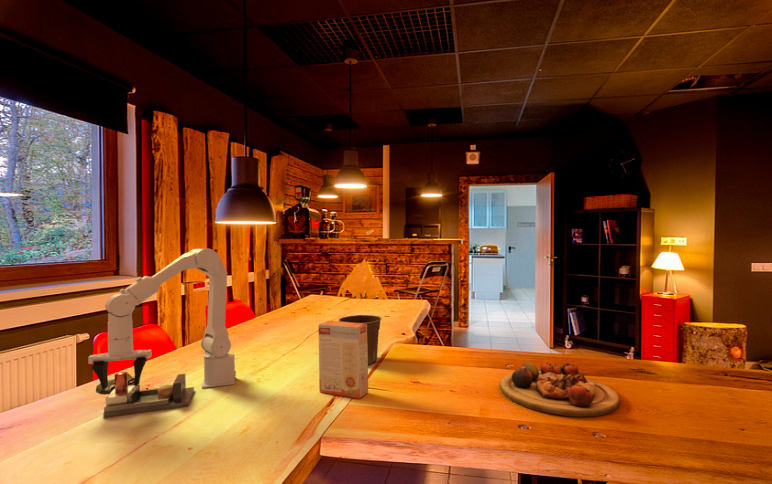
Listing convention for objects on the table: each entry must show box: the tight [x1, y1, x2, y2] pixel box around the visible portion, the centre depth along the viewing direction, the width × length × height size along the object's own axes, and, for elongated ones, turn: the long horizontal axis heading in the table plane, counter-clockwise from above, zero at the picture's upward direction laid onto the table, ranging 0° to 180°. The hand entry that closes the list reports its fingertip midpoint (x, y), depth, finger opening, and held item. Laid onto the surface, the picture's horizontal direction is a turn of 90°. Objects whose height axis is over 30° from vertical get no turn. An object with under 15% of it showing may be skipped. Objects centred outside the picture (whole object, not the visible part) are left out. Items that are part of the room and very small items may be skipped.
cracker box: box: [318, 320, 369, 400], centre depth 117 cm, size 14×6×21 cm, turn 65°
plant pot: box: [338, 314, 382, 365], centre depth 148 cm, size 16×16×16 cm
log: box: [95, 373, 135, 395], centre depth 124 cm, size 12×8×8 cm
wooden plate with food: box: [499, 360, 621, 418], centre depth 114 cm, size 32×32×8 cm
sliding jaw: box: [105, 371, 141, 407], centre depth 109 cm, size 6×8×8 cm
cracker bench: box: [102, 373, 195, 419], centre depth 111 cm, size 20×12×6 cm, turn 109°
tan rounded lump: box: [157, 384, 173, 400], centre depth 112 cm, size 4×4×3 cm
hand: (121, 386), depth 109 cm, fingers open, 7 cm apart
